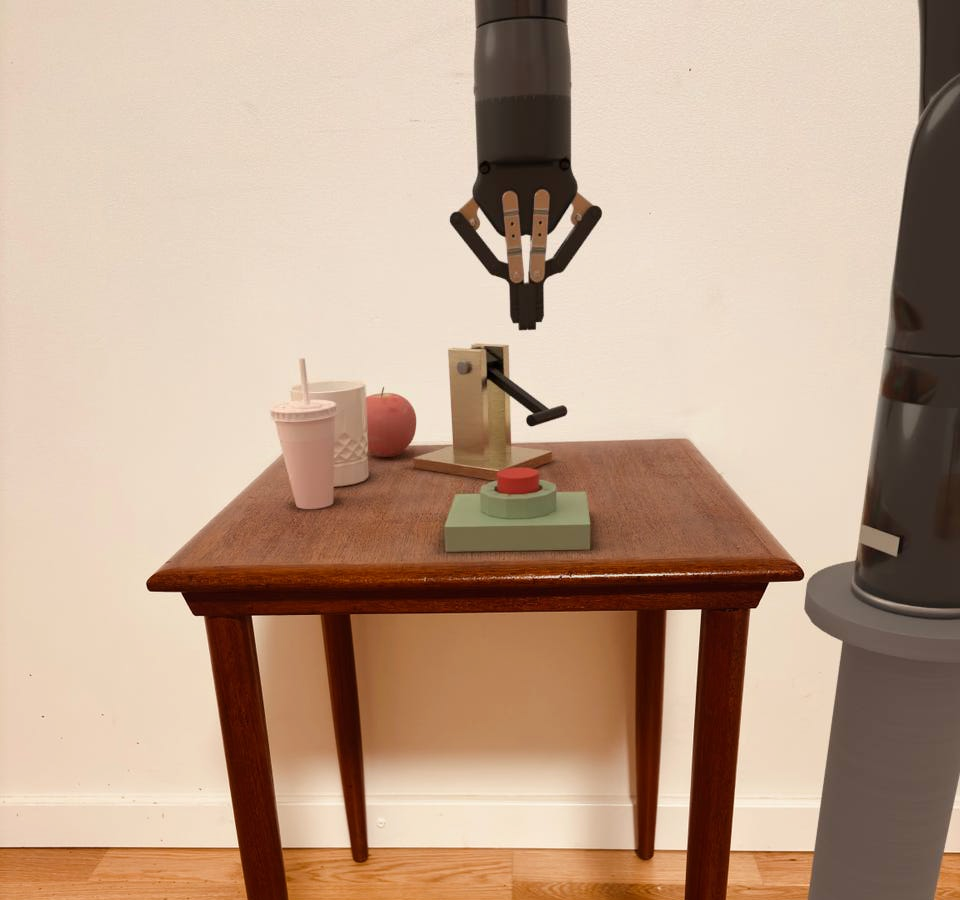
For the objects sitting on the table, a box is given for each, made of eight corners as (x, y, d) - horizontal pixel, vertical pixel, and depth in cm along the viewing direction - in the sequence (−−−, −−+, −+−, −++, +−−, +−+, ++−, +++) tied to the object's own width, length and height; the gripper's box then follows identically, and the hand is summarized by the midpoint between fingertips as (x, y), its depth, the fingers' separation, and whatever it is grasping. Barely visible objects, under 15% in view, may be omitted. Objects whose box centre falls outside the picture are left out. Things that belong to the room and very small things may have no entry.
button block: (585, 514, 85) (586, 471, 83) (590, 549, 76) (590, 502, 74) (456, 516, 86) (454, 474, 84) (445, 552, 77) (442, 505, 75)
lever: (562, 423, 99) (571, 404, 97) (530, 433, 95) (539, 414, 93) (483, 363, 103) (490, 344, 101) (448, 370, 98) (455, 350, 97)
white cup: (286, 486, 99) (274, 391, 95) (326, 468, 105) (316, 378, 101) (350, 491, 96) (340, 393, 92) (386, 473, 102) (379, 380, 98)
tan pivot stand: (551, 461, 104) (551, 343, 99) (498, 481, 97) (494, 355, 92) (469, 450, 111) (464, 339, 106) (413, 468, 104) (405, 350, 99)
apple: (377, 447, 114) (371, 381, 111) (429, 451, 111) (424, 383, 108) (343, 460, 109) (336, 391, 105) (396, 465, 105) (391, 394, 102)
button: (539, 486, 81) (539, 466, 80) (539, 497, 78) (538, 477, 77) (498, 487, 81) (497, 467, 80) (496, 498, 78) (495, 478, 77)
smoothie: (313, 516, 88) (295, 364, 82) (268, 507, 91) (248, 361, 86) (360, 500, 92) (346, 355, 87) (316, 491, 96) (299, 352, 90)
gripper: (435, 94, 69) (449, 337, 76) (613, 85, 68) (610, 330, 75) (440, 106, 75) (451, 328, 82) (601, 98, 75) (599, 321, 82)
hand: (527, 329), depth 79 cm, fingers closed
